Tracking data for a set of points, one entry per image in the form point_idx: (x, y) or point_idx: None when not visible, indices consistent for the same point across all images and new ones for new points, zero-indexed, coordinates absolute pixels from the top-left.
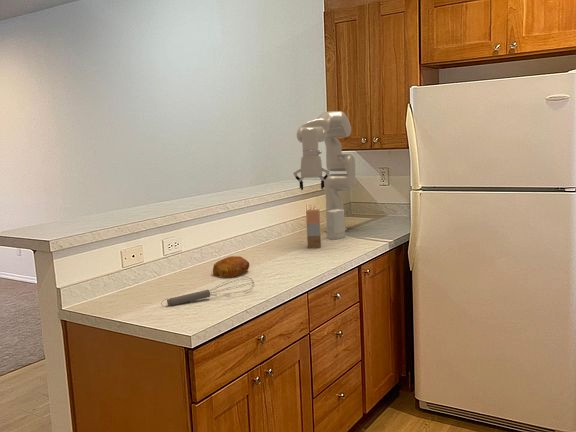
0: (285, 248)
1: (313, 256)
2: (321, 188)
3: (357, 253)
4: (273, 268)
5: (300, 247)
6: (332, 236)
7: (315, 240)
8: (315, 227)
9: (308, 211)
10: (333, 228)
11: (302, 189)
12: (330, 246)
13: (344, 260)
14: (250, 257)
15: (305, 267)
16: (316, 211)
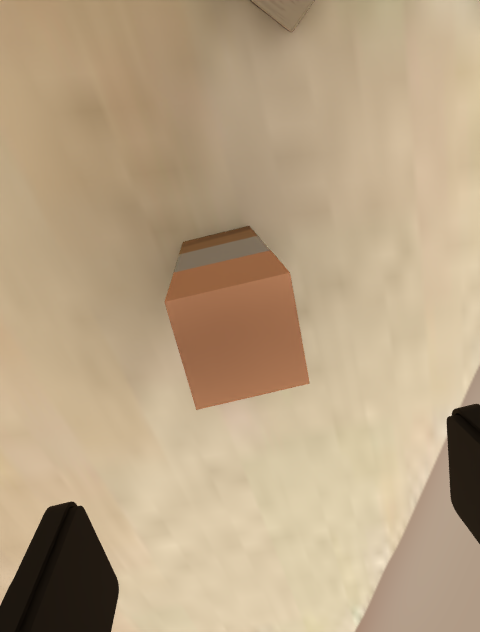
0: (82, 321)
1: (277, 446)
2: (464, 515)
3: (452, 369)
4: (189, 609)
5: (153, 287)
6: (280, 15)
7: None
8: None
9: (215, 400)
10: (305, 4)
11: (116, 593)
12: (307, 241)
13: (409, 480)
14: (14, 505)
15: (292, 580)
16: (289, 386)
